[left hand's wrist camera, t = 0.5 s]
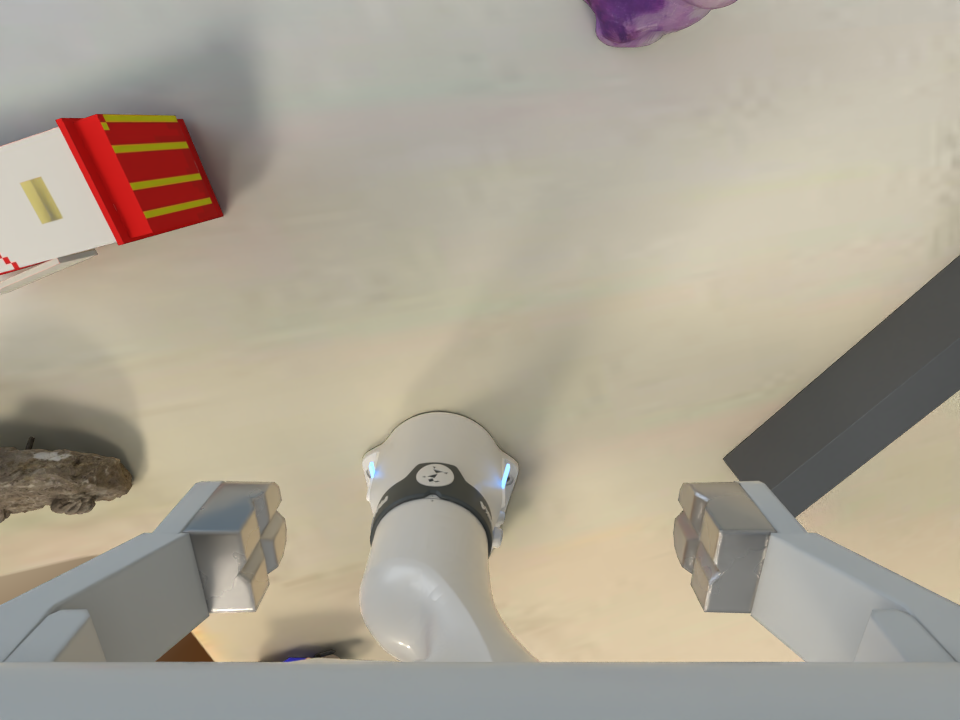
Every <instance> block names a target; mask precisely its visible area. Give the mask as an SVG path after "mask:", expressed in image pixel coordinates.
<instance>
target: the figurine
mask: <svg viewBox="0 0 960 720" xmlns="http://www.w3.org/2000/svg"><path fill="white" fill-rule="evenodd" d="M584 1H585V2H586V3H587V4H588V5H589V6H590V7H591V9H592V10H593V12H594V13H595V15H596V34H597V37H598V38H599V39H600V40H601V41H602V42H603V43H605V44H606V45H609V46H614V47H641V46H647V45H650V44H652V43H654V42H656V41H657V40H659V39H660V38H661V37H662V35H665V34H667V33H672V32H676V31H679V30H681V29H684V28H687V27H689V26H691V25H692V24H694V23H696V22H698V21H699V20H701V19H702V18H703V17H704V16H706V15H707V14H708V13H709V11H710V10H711V9H717V8H721V7H725V6H728V5H730V4H732V3H734V2H736V1H737V0H584Z"/></svg>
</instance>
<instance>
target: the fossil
mask: <svg viewBox="0 0 960 720" xmlns="http://www.w3.org/2000/svg"><path fill="white" fill-rule="evenodd" d="M34 439H35V438H33V437H30V438H29V440H28V443H27V447H26V450H17V449H16V448H15V447H0V523H1V522H2V521H4V520H5V519H6V518H8V517H9V516H10V514H11V513H12V514H15V513H20V512H24V513H25V512H27V511H30V510H37V509H40V508H43V507H44V506H45V505H50V506H51V510H52V511H53V512H55V513H65V514H69V515H72V514H83V513H87V512H90V511H91V510H92V509H93V507H94V506H95V504H96V503H95V501H100V500H107V501H111V500H113V499H115V498H116V497H119V498H120V497H121V496H122V495H125V494H127V493H128V492H129V490H130V489H131V487H132V484H131V478H132V476H131V474H130V473H129V471H128V470H126V469H125V468H124V466H123V465H122V464H121V463H120V459H118V458H113V457H106V456H100V455H97V454H89V453H82V452H76V451H69V450H67V449H63V450H60V449H57V450H54V451H49V450H45V449H32V446H33V443H34Z"/></svg>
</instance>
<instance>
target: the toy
mask: <svg viewBox="0 0 960 720" xmlns="http://www.w3.org/2000/svg"><path fill="white" fill-rule="evenodd" d="M56 122H57V124H58V126H59V127H57V128H54V129H51V130H48V131H45V132H42V133H39V134H36V135H33V136H30V137H27V138H24V139H21V140H18V141H15V142H12V143H9V144H6V145H3V146H0V275H3V274H6V273H10V272H13V271H16V270H20V269H23V268H27V267H30V266H33V265H37V264H40V263H43V264H40V265H38V266H36V267H33V268H31V269H29V270H26V271H24V272H22V273H20V274H17V275H15V276H13V277H10V278H8V279H6V280H3V281H1V282H0V294H4V293H8V292H11V291H13V290H15V289H18V288H20V287H22V286H25V285H27V284H29V283H32V282H34V281H36V280H39V279H41V278H44V277H46V276H48V275H51V274H53V273H55V272H58V271H60V270H62V269H65V268H67V267H69V266H72V265H74V264H77V263H79V262H81V261H84V260H86V259H88V258H91V257H93V256H95V255H98V254H97V252H96V250H95V249H93V250H89V249H92V248H96V247H100V246H104V245H107V244H111V243H115V242H117V243H118V245H122V244H126V243H129V242H133V241H136V240H140V239H144V238H147V237H151V236H154V235H158V234H162V233H165V232H169V231H172V230H176V229H179V228H183V227H187V226H190V225H194V224H197V223H201V222H204V221H208V220H212V219H215V218H219V217H222V216H223V213H222V211H221V209H220V206H219V204H218V201H217V199H216V197H215V194H214V192H213V189H212V187H211V185H210V182H209V180H208V178H207V175H206V173H205V170H204V168H203V166H202V163H201V161H200V159H199V156H198V154H197V151H196V149H195V147H194V144H193V142H192V139H191V137H190V135H189V132H188V130H187V128H186V125H185V123H184V120H183V119H176V116H170V115H115V114H95V115H92V116H89V117H86V118H60V119H57V120H56ZM85 250H88V251H85ZM81 251H84V252H81ZM78 252H79V253H78ZM74 253H75V254H74ZM44 262H45V263H44Z"/></svg>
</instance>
